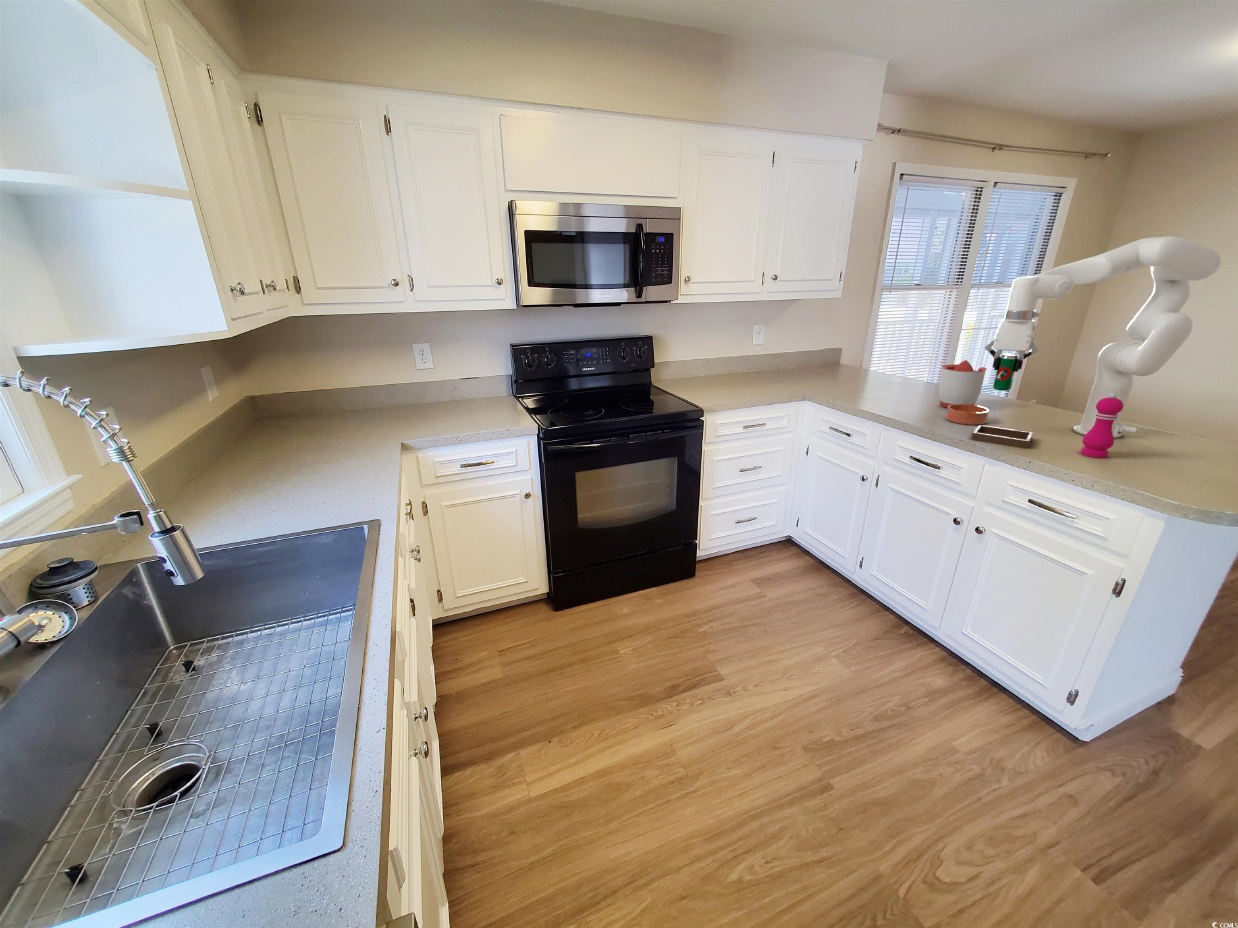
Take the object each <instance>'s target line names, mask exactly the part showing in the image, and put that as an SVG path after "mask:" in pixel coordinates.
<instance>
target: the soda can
mask: <svg viewBox="0 0 1238 928" xmlns="http://www.w3.org/2000/svg"><path fill="white" fill-rule="evenodd" d="M1018 359H1019V354H1015V353H1013V354H1012V353H1003V354H1002V353H1001V356H1000V359H999V363H998V368H997V370H996V372H995V377H994V380H993V385H992V388H993V389H994V390H996V391H1000V392H1001V391H1003V392H1005V391H1006V392H1008V391H1009V390H1011V389H1012V386H1013V382H1014V378H1015V373H1016V372H1015V367H1016V363H1017V360H1018Z"/></svg>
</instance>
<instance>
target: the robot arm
mask: <svg viewBox="0 0 1238 928" xmlns="http://www.w3.org/2000/svg"><path fill="white" fill-rule="evenodd" d="M1221 263H1222V258H1221V256H1220V254H1219V253H1218V252H1216V251H1215V250H1214V249H1211V248H1209V247H1206V246H1204V245H1200V244H1198V243H1196V242H1194V241H1191V240H1187V239H1185V238H1182V237H1178V236H1174V235H1169V236H1168V235H1167V236H1154V237H1152V236H1150V237H1144V238H1141V239H1138V240H1135V241H1133V242H1132V241H1131V242H1129V243H1126V244H1124V245H1121V246H1119V247H1116V248H1113V249H1111V250H1108V251H1106V252H1103V253H1099V254H1098V255H1095V256H1091V257H1087V258H1083V259H1081V260H1077V261H1073V262H1070V263H1066V264H1062V265H1060V266H1056V267H1053V268H1051V269H1048V270H1045V271H1043V272H1040V273H1038V274H1035V275H1034V276H1033V275H1032V276H1031V275H1029V276H1026V275H1025V276H1018V277H1015V278H1014V279H1013V280H1012V284H1011V288H1010V292H1009V297H1008V301H1007V305H1006V310H1005V315H1004V319H1001V321H1000V322H999V325H998V328H997V331H996V333H995V337H994V339H993V340H992V341H990V342H989V343H988V344H987V345H986V346H985V347H984V350H986V351H987V352H988V353H989V354H990V355H991V357H993V363H992V368H993V371H997V368H998V363H999V359H1000V357H1001V356H1000V355H1002V352H1003V351H1005V352H1018V360H1017V363H1016V367H1015V373H1018V372H1019V370H1022V367H1023V363H1024V360H1026V359H1027V358H1029V357H1030V356H1032V355H1034V354H1036V353H1038V352H1039V351H1040V349H1039V346H1037V344H1036V343H1035V341H1034V338H1035V333H1036V332H1035V331H1036V320H1035V319H1034V318H1039V317H1040V314H1041V312H1038V311H1036V308H1037V303H1038V300H1039V299H1042V300H1059V299H1062V298H1065V297H1067V296H1069V294H1071V292H1072V291H1073V290H1074V287H1075V286H1079V285H1080V286H1081V285H1090V284H1096V283H1097V284H1098V283H1101V282H1106V281H1109V280H1111V279H1114V278H1117V277H1120V276H1122V275H1125V274H1128V273H1131V272H1133V271H1136V270H1139V269H1142V268H1149V267H1150V274H1151V276H1152V277H1151V278H1152V280H1153V291H1152V293H1151V295H1150V297H1148V299H1147V301H1146V302H1145V303H1144V304H1143V306H1142V307H1141V308H1140V310H1138V312H1137V313H1136V314H1135V316H1133V318H1132V320H1131V321H1130V322H1129V323H1128V324H1127V327H1126V329H1125V333H1126V335H1127V337H1129V338H1130V339H1131V340H1136V341H1140V342H1143V344H1142V343H1137V342H1130V341H1115V342H1111V343H1109V344H1107V345H1105V346H1104V347H1103V348H1102V349H1101V350H1100V351H1099V353H1098V356H1097V360H1096V361H1097V362H1096V372H1095V377H1094V381H1093V385H1092V388H1091V391H1090V394H1089V396H1088V400H1087V403H1086V406H1085V410H1084V413H1083V416H1082V419H1081V423H1080V424H1077V425H1074V426H1073V428H1072V429H1073V431H1074V432H1075V433H1077V434H1080V435H1084V436H1085V434H1086V433H1087V432H1088V431H1089V430H1090V429H1091V428H1092V427H1093V426H1094V424H1095V422H1096V417H1095V415H1096V412H1098V410H1097V409H1096V404H1097V402H1098V401H1099V400H1101V399H1103V398H1108V397H1109V394H1111V393H1116V394H1117V397H1116V398H1117V399H1119V400H1121V401H1122V402H1123V409H1122V411H1120V412H1119V413H1117V414H1118V416H1117V419H1116V420H1114V422H1113V425H1112V433H1113V437H1114V439H1117V438H1121V437H1122V435H1123V433H1129V434H1136V433H1137V429H1138V428H1137V427H1133V426H1132V425H1125V424H1124V425H1123V424H1122V421H1121V420H1122V416H1123V414H1124V412H1125V411H1124V410H1125V408H1126V405H1127V403H1128V402H1127V401H1128V400H1129V396H1130V394H1131V391H1132V388H1133V384H1134V379H1133V376H1137V377H1146V376H1151V375H1153V374H1155V373H1157V372H1158V371H1159V370H1160V369H1162V368H1163V366H1165V365H1166V363H1167V362H1168V361H1169V360H1170V359H1171V358H1172V357H1173V356H1174V354H1175V353H1176V352H1177V351H1178V350H1179V349H1180V348H1181V346H1182V345H1183V344H1184V343H1185V341H1187V339H1188V338H1189V336H1190V334H1191V333H1192V329H1193V320H1192V319H1191V317H1189V316H1188V315H1187V314H1184V313H1181V312H1180V311H1181V310H1182V308H1184V306H1185V305H1186V303H1187V301H1188V300H1189V297H1190V294H1191V289H1190V283H1189V282H1191V281H1192V282H1193V281H1201V280H1202V281H1203V280H1205V279H1208V278H1210V277H1211V276H1213V275H1214V274H1216V273H1217V272H1218V270H1219V269H1220V267H1221ZM1030 349H1031V350H1030ZM995 350H996V351H995ZM1029 350H1030V351H1029ZM1027 351H1028V352H1027Z"/></svg>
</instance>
